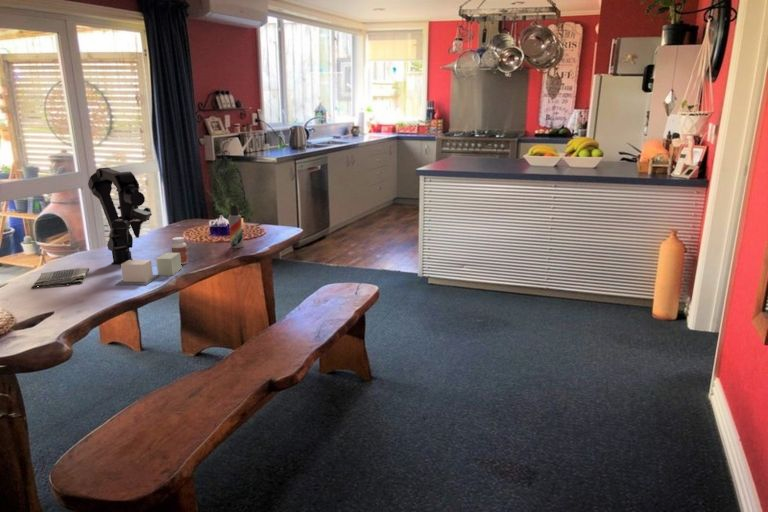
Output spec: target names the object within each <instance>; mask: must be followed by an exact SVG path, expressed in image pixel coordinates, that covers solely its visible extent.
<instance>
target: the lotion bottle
mask: <svg viewBox="0 0 768 512" xmlns="http://www.w3.org/2000/svg"><path fill="white" fill-rule="evenodd" d="M239 213H240V212H239V206H238V205H230V206H229V215H228V225H229V226H228V227H229V239H230V246H231V248H233V249H239V248H242V247H243V246H244V237H243V226H242V225H243V223H242V216H241V214H239Z"/></svg>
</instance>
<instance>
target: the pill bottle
mask: <svg viewBox="0 0 768 512" xmlns="http://www.w3.org/2000/svg"><path fill="white" fill-rule="evenodd" d="M171 239H172V241H171V242H172V244H171V245H170V249H171V253H180V256H181V264H182V265H186V264H188V263H189V257H188V247H187V243H186V242H184V241H185V237H183V236H176V237H173V238H171Z"/></svg>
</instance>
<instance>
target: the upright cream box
mask: <svg viewBox="0 0 768 512" xmlns="http://www.w3.org/2000/svg"><path fill="white" fill-rule="evenodd" d="M120 267H121V275H122V280H123V282H147V281H148V280H150V279H151V278H153V275H154V274H153V264H152V260H151V259H133V260H128V261H126V262H124V263H122V264H120Z"/></svg>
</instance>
